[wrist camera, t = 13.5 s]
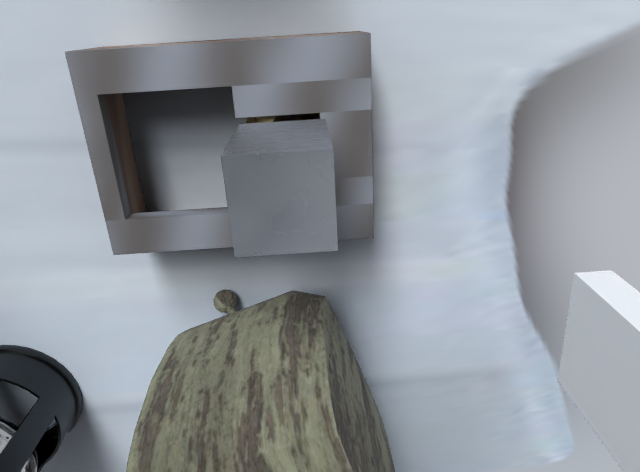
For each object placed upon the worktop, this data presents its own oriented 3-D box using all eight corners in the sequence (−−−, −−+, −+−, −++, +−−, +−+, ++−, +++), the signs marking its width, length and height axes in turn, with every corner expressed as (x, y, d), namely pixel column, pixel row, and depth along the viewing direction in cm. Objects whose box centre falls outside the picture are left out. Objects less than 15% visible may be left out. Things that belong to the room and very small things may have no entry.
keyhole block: (139, 222, 34) (113, 254, 29) (101, 47, 29) (64, 52, 25) (363, 208, 34) (373, 237, 29) (359, 31, 29) (370, 33, 25)
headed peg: (252, 172, 33) (221, 272, 20) (243, 89, 31) (201, 140, 18) (332, 167, 33) (353, 263, 20) (328, 84, 31) (349, 131, 18)
